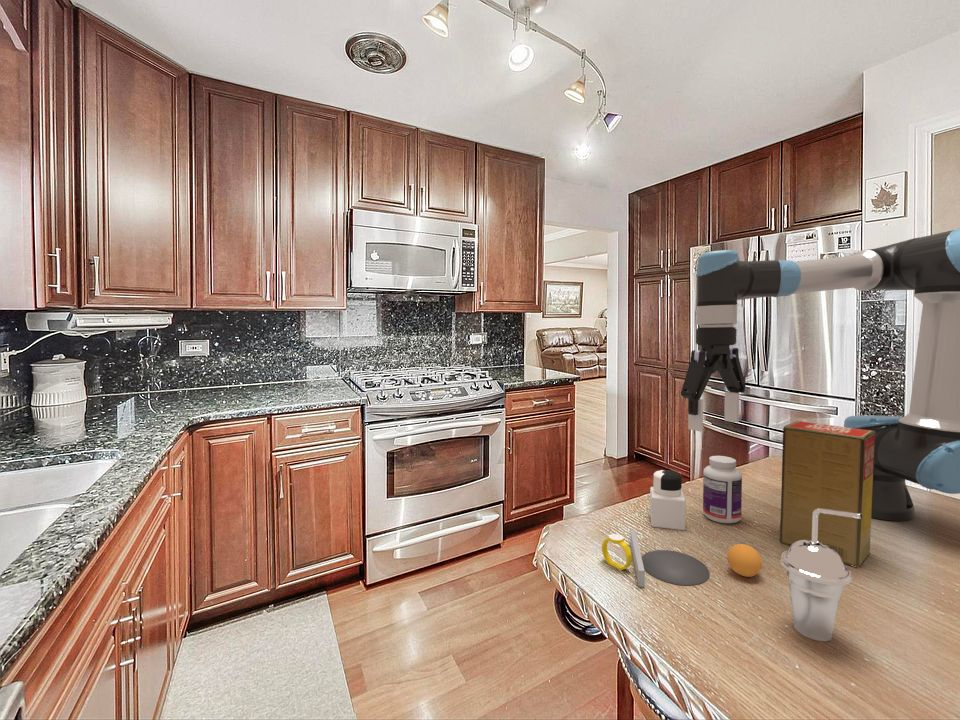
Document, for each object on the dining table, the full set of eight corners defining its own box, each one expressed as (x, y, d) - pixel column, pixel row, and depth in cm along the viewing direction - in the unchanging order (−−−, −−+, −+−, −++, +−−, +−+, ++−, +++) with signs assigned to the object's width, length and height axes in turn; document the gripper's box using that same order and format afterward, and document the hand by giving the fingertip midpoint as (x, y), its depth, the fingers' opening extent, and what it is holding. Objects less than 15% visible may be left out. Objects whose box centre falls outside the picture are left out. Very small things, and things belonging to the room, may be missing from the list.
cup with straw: (812, 609, 70) (817, 489, 68) (869, 650, 61) (875, 513, 59) (764, 615, 69) (768, 492, 67) (815, 657, 60) (820, 518, 58)
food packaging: (871, 552, 87) (877, 429, 85) (859, 569, 81) (865, 438, 79) (793, 529, 97) (796, 419, 95) (777, 542, 92) (780, 426, 90)
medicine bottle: (681, 517, 104) (682, 469, 103) (685, 531, 97) (686, 479, 96) (650, 514, 106) (650, 466, 106) (651, 527, 100) (651, 476, 99)
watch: (600, 564, 85) (598, 534, 85) (608, 559, 87) (606, 529, 87) (626, 575, 81) (624, 543, 80) (635, 569, 82) (633, 538, 82)
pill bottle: (731, 511, 107) (732, 454, 106) (748, 525, 99) (749, 464, 98) (697, 510, 108) (698, 453, 107) (711, 525, 100) (712, 464, 99)
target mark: (700, 554, 87) (700, 553, 87) (717, 589, 76) (717, 588, 76) (637, 548, 90) (637, 547, 90) (644, 581, 79) (644, 580, 79)
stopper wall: (635, 543, 92) (635, 529, 92) (644, 587, 77) (644, 571, 77) (630, 543, 93) (630, 529, 92) (638, 586, 77) (638, 570, 77)
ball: (755, 567, 82) (755, 540, 82) (766, 584, 77) (767, 554, 76) (723, 564, 83) (723, 537, 83) (732, 581, 78) (732, 551, 78)
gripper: (730, 325, 101) (728, 415, 102) (663, 327, 88) (662, 430, 89) (765, 325, 94) (762, 420, 96) (698, 327, 81) (696, 438, 83)
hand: (714, 425), depth 93 cm, fingers open, 13 cm apart
